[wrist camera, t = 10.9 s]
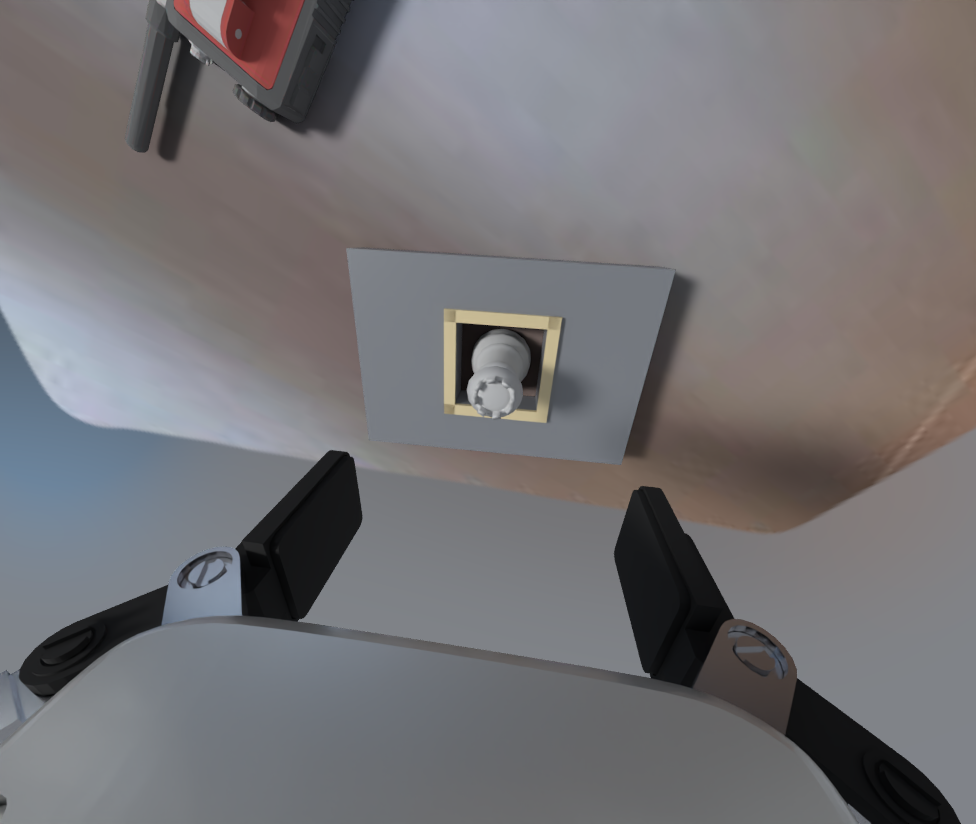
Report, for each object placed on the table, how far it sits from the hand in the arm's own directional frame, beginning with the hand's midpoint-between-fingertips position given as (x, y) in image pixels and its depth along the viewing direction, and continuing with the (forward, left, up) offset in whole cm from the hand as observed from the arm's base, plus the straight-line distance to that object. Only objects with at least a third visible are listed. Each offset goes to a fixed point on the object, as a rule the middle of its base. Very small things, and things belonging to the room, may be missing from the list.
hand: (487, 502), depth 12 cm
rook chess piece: (0, 0, -17) cm, 17 cm away
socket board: (+1, 0, -16) cm, 16 cm away
